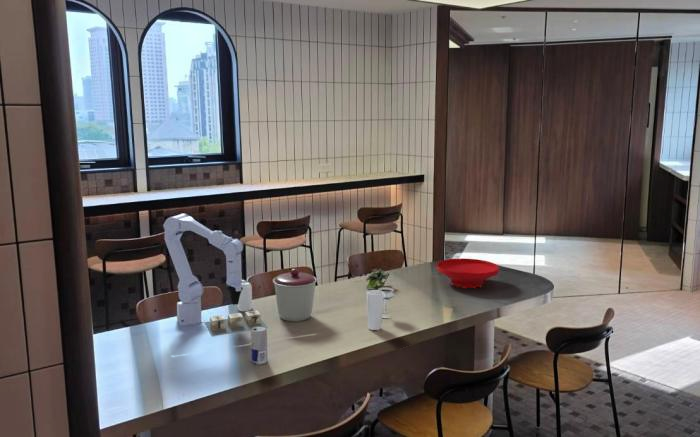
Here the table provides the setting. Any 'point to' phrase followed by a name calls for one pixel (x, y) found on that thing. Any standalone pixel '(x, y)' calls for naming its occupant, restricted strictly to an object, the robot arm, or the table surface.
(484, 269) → the bowl
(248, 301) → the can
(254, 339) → the energy drink
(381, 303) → the drinking glass
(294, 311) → the canister
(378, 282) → the green leafy plant
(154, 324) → the table surface
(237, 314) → the plain block
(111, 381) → the table surface
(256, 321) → the block numbered 7
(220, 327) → the beige square block
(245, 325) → the mat
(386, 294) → the wineglass
